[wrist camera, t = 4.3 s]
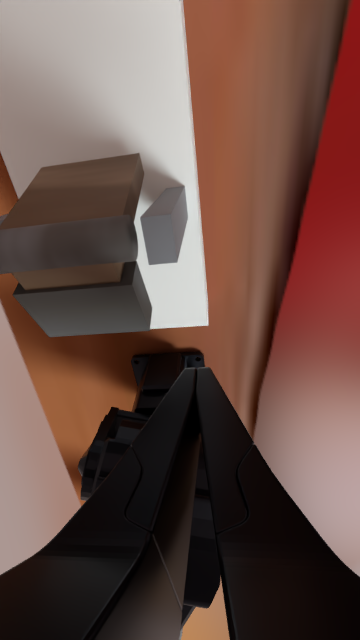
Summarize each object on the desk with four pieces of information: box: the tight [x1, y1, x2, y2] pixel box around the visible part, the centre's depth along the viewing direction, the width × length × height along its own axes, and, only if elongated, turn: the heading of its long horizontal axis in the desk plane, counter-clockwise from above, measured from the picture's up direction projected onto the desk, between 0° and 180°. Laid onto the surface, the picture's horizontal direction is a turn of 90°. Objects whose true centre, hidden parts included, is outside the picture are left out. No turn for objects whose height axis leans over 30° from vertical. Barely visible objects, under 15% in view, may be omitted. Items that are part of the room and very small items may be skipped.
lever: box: [0, 153, 152, 337], centre depth 14 cm, size 5×6×7 cm
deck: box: [0, 0, 208, 329], centre depth 14 cm, size 17×10×11 cm, turn 7°
